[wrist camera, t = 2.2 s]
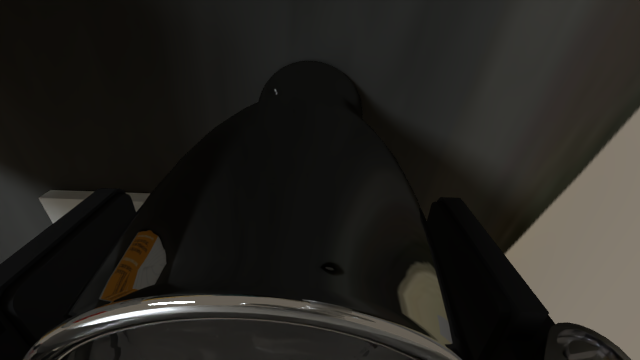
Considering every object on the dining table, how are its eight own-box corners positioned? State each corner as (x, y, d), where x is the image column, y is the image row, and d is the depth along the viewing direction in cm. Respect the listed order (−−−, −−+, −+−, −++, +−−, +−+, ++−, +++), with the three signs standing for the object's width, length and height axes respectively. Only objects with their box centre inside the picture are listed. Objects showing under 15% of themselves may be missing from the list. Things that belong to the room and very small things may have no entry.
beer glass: (386, 68, 16) (659, 351, 3) (350, 176, 19) (400, 522, 6) (257, 36, 15) (-152, 219, 2) (245, 154, 19) (62, 492, 6)
